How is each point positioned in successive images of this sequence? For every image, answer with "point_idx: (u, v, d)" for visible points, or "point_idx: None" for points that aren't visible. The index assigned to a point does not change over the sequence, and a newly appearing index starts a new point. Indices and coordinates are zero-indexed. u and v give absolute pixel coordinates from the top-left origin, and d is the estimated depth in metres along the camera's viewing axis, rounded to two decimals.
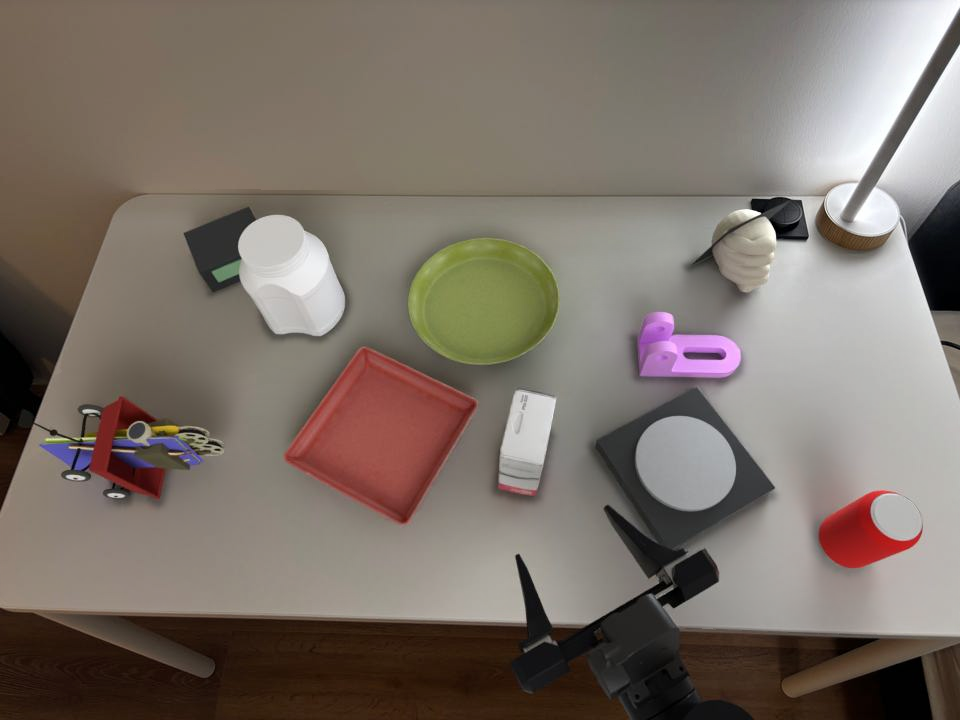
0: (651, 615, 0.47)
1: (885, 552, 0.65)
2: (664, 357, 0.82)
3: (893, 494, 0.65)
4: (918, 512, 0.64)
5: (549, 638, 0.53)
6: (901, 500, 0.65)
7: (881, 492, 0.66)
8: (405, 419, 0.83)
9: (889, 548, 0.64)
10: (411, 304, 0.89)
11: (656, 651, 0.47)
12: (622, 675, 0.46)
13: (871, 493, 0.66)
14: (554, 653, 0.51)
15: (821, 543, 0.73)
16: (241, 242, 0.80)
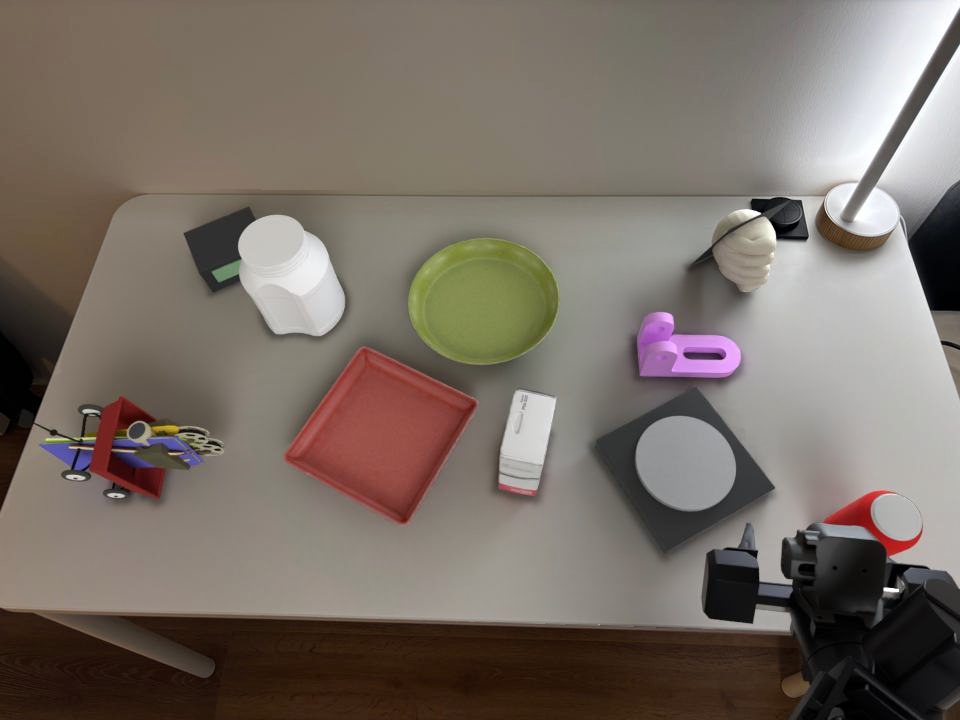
0: (860, 532, 0.49)
1: None
2: (664, 357, 0.82)
3: (893, 494, 0.65)
4: (918, 512, 0.64)
5: None
6: (901, 500, 0.65)
7: (881, 492, 0.66)
8: (405, 419, 0.83)
9: (889, 548, 0.64)
10: (411, 304, 0.89)
11: (855, 566, 0.48)
12: (810, 554, 0.48)
13: (871, 493, 0.66)
14: (750, 561, 0.54)
15: None
16: (241, 242, 0.80)
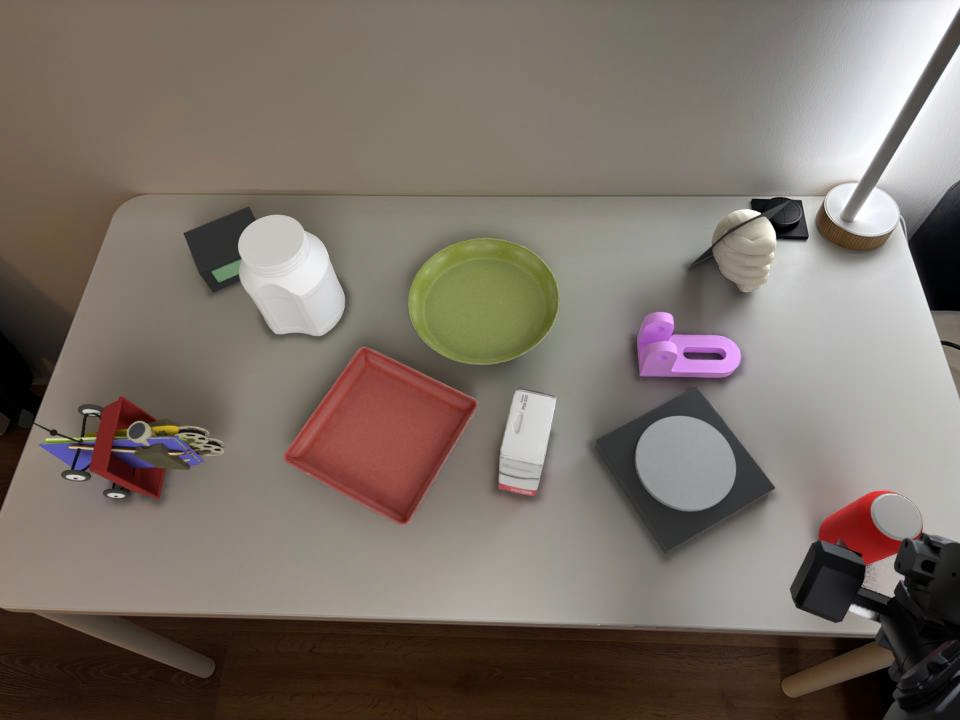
0: None
1: (885, 552, 0.65)
2: (664, 357, 0.82)
3: (893, 494, 0.65)
4: (918, 512, 0.64)
5: None
6: (901, 500, 0.65)
7: (881, 492, 0.66)
8: (405, 419, 0.83)
9: (889, 548, 0.64)
10: (411, 304, 0.89)
11: None
12: (935, 554, 0.50)
13: (871, 493, 0.66)
14: (857, 559, 0.55)
15: None
16: (241, 242, 0.80)
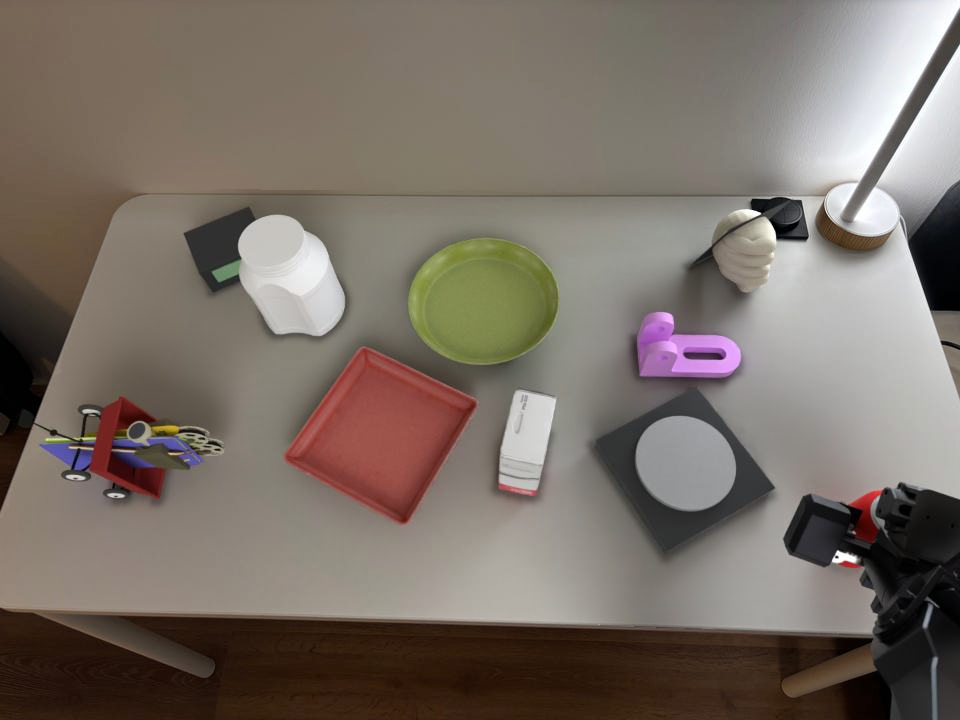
0: None
1: None
2: (664, 357, 0.82)
3: None
4: None
5: (852, 523, 0.63)
6: None
7: None
8: (405, 419, 0.83)
9: None
10: (411, 304, 0.89)
11: (945, 520, 0.56)
12: (911, 500, 0.56)
13: (871, 493, 0.66)
14: (843, 508, 0.62)
15: None
16: (241, 242, 0.80)
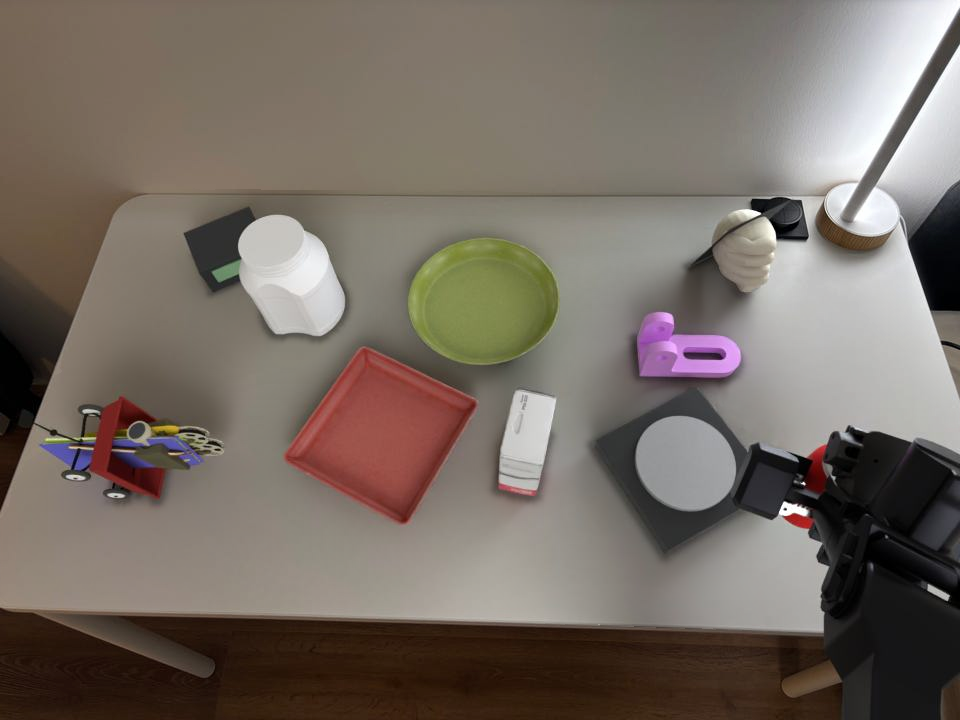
0: None
1: None
2: (664, 357, 0.82)
3: None
4: None
5: (801, 474, 0.60)
6: None
7: None
8: (405, 419, 0.83)
9: None
10: (411, 304, 0.89)
11: (894, 463, 0.53)
12: (858, 442, 0.53)
13: (824, 445, 0.63)
14: (791, 457, 0.59)
15: None
16: (241, 242, 0.80)
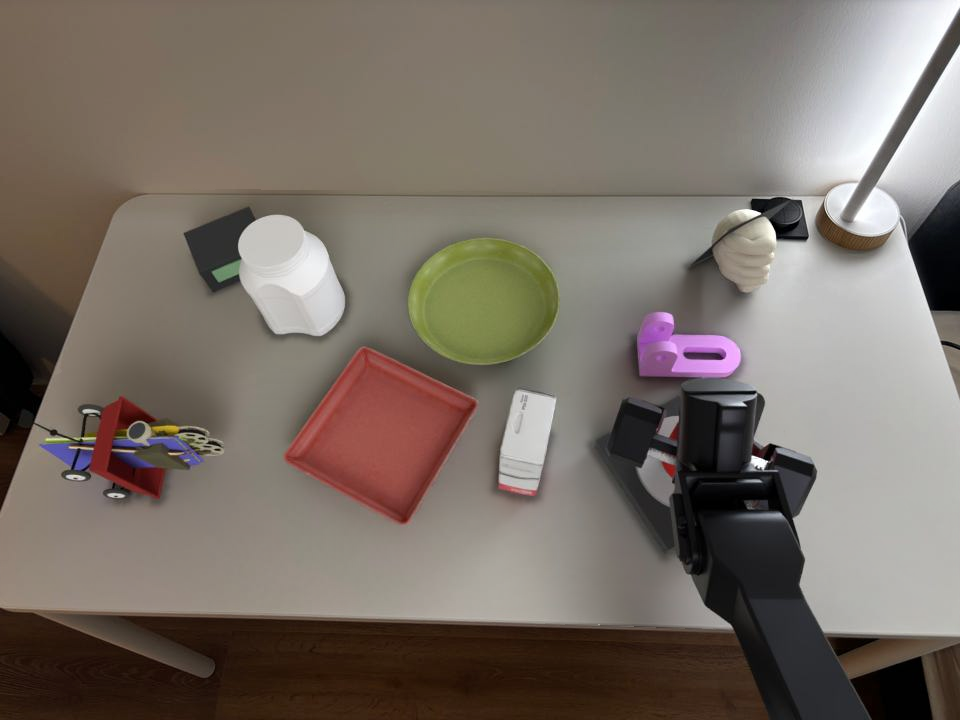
0: None
1: None
2: (664, 357, 0.82)
3: None
4: None
5: None
6: None
7: None
8: (405, 419, 0.83)
9: None
10: (411, 304, 0.89)
11: None
12: None
13: None
14: (656, 409, 0.63)
15: (662, 462, 0.75)
16: (241, 242, 0.80)
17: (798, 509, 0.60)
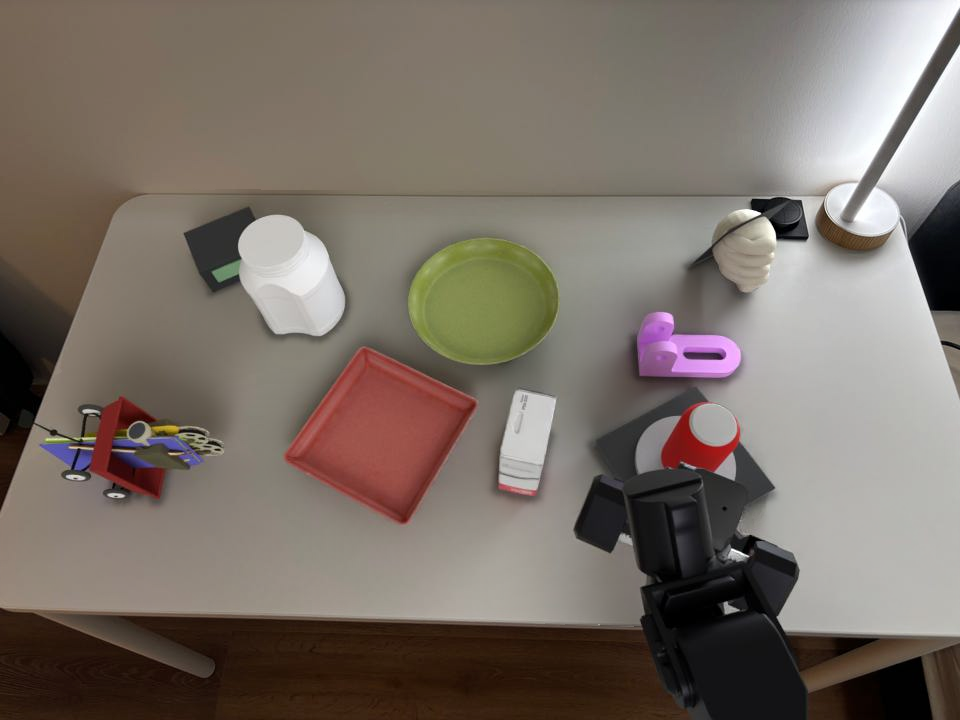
0: None
1: (705, 460, 0.67)
2: (664, 357, 0.82)
3: (712, 404, 0.67)
4: (734, 420, 0.66)
5: None
6: (719, 409, 0.67)
7: (702, 403, 0.68)
8: (405, 419, 0.83)
9: (705, 455, 0.66)
10: (411, 304, 0.89)
11: (717, 501, 0.53)
12: None
13: (694, 405, 0.68)
14: None
15: (662, 462, 0.75)
16: (241, 242, 0.80)
17: (777, 610, 0.56)
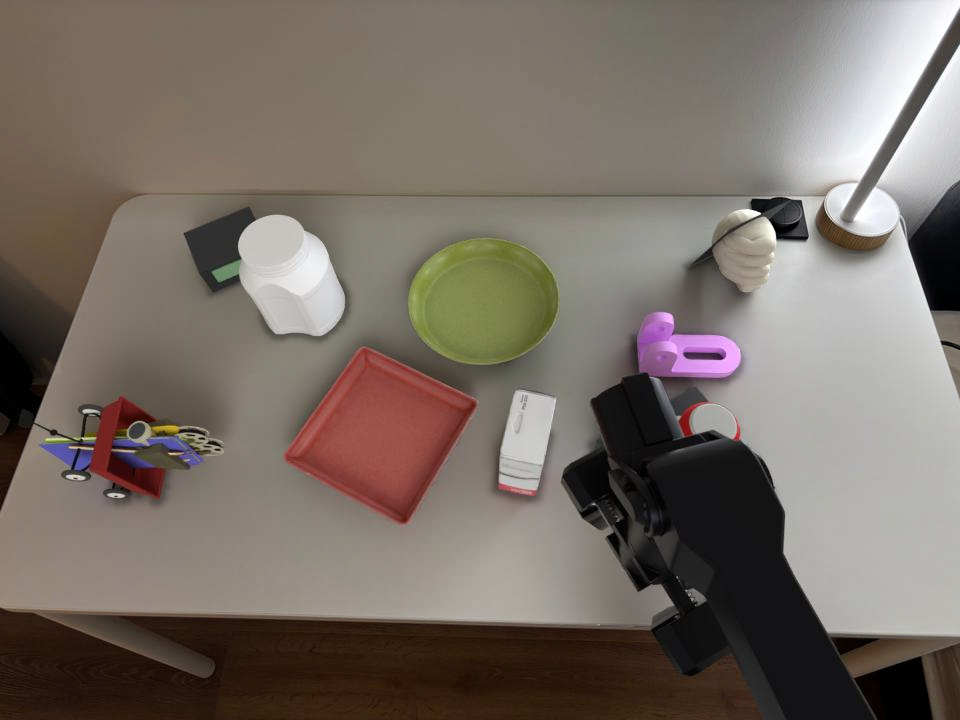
0: None
1: None
2: (664, 357, 0.82)
3: (712, 404, 0.67)
4: (734, 420, 0.66)
5: None
6: (719, 409, 0.67)
7: (702, 403, 0.68)
8: (405, 419, 0.83)
9: None
10: (411, 304, 0.89)
11: None
12: None
13: (694, 405, 0.68)
14: None
15: None
16: (241, 242, 0.80)
17: (706, 662, 0.49)
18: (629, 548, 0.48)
